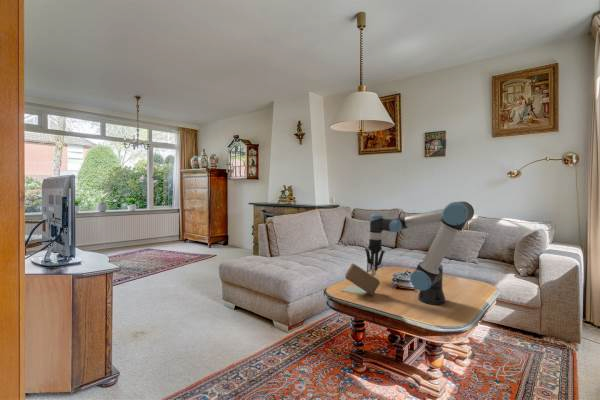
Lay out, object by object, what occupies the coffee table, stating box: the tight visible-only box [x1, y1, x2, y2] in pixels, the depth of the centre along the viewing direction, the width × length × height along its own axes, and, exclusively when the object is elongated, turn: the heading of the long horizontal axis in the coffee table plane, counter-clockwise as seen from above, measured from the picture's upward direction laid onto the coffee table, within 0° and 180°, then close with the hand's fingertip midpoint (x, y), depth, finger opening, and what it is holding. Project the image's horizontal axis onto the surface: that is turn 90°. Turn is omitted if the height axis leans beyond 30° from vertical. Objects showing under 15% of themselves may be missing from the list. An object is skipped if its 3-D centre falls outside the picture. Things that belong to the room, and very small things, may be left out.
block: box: [344, 263, 381, 296], centre depth 202 cm, size 10×10×20 cm
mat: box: [341, 284, 368, 296], centre depth 209 cm, size 16×14×1 cm
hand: (373, 275), depth 201 cm, fingers closed
